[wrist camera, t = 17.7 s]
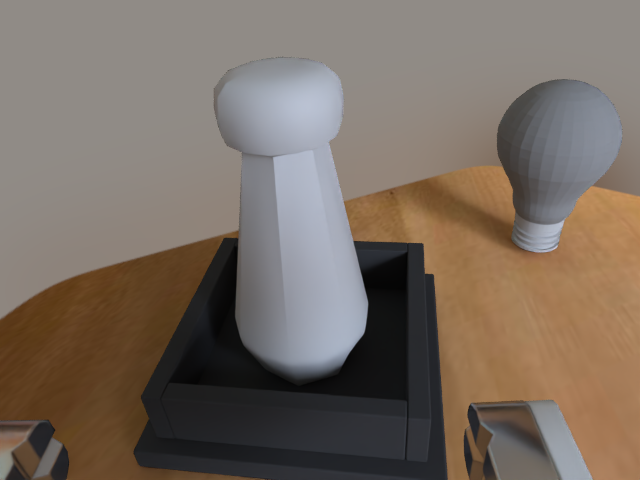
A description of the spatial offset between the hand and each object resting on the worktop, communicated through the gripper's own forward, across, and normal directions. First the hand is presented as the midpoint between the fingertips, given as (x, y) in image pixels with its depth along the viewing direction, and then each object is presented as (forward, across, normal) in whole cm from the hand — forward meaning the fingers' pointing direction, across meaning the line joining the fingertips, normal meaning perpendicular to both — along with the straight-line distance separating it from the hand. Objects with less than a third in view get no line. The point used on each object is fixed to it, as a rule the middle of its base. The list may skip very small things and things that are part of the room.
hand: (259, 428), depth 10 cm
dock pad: (+11, 0, +10) cm, 15 cm away
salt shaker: (+10, 0, +9) cm, 14 cm away
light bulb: (+19, -14, +10) cm, 26 cm away
